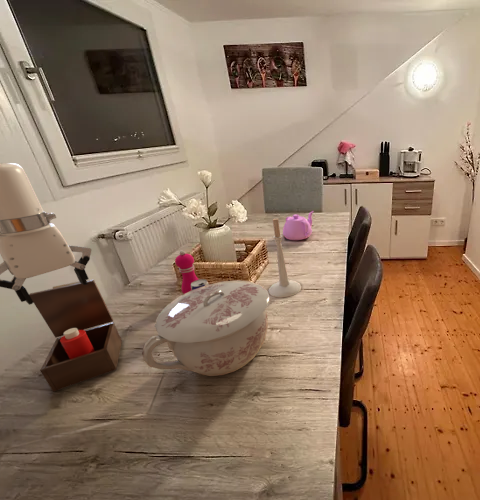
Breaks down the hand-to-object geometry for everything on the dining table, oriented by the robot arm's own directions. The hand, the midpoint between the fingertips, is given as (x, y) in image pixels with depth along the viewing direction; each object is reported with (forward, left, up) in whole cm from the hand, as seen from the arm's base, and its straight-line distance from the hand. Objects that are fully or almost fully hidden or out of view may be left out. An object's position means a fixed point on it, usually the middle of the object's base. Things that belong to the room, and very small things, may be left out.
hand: (58, 292), depth 67 cm
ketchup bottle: (-2, +1, -24) cm, 24 cm away
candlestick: (+52, +26, -25) cm, 64 cm away
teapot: (+67, +87, -25) cm, 113 cm away
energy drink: (+24, +20, -25) cm, 40 cm away
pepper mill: (+18, +32, -25) cm, 44 cm away
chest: (-3, +3, -25) cm, 25 cm away
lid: (-4, +8, -9) cm, 13 cm away
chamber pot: (+33, -5, -25) cm, 42 cm away
